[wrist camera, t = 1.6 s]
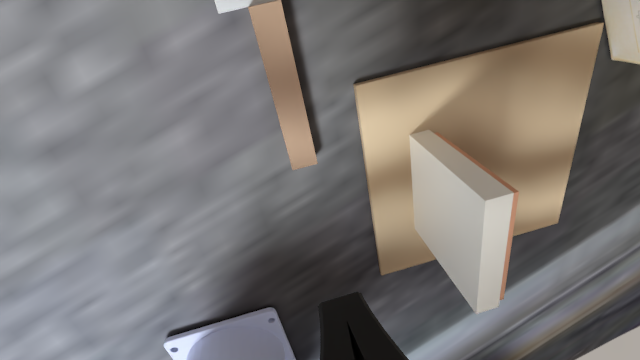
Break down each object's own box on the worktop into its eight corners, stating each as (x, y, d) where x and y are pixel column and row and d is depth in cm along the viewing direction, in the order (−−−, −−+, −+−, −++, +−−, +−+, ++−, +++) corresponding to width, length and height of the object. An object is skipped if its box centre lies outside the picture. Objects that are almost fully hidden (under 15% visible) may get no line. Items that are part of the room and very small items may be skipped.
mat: (553, 219, 26) (557, 222, 25) (379, 271, 25) (381, 275, 24) (597, 22, 18) (604, 22, 18) (353, 84, 17) (355, 86, 17)
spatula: (336, 149, 19) (340, 157, 18) (268, 168, 19) (269, 176, 18) (278, -159, 12) (281, -170, 12) (171, -138, 12) (166, -148, 11)
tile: (436, 222, 23) (506, 304, 17) (414, 228, 23) (476, 314, 17) (435, 127, 19) (523, 189, 13) (409, 134, 19) (485, 201, 13)
